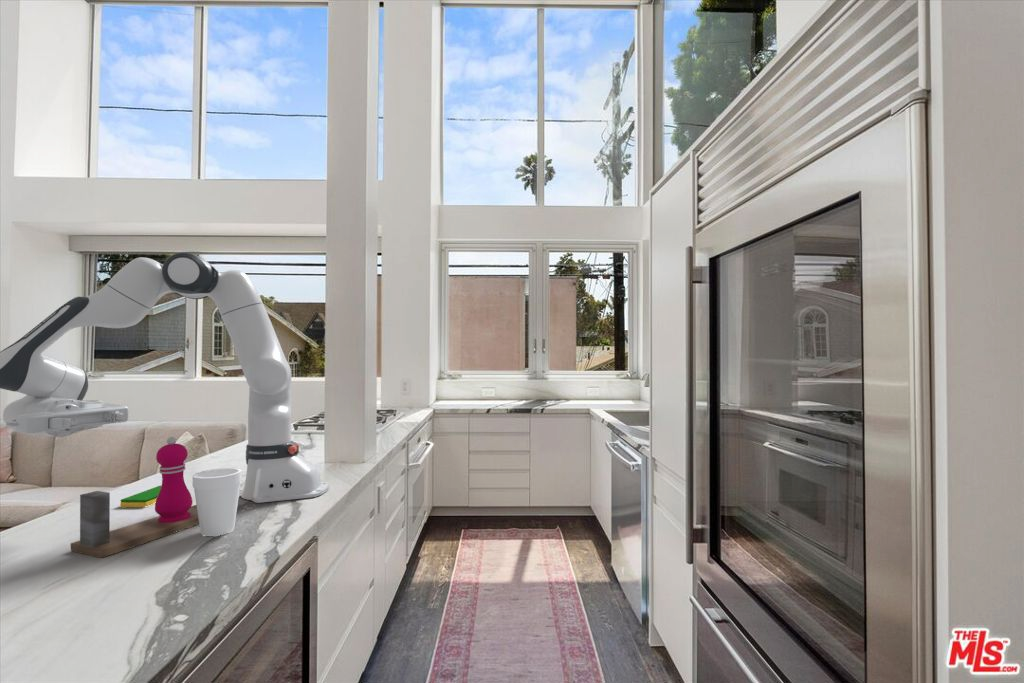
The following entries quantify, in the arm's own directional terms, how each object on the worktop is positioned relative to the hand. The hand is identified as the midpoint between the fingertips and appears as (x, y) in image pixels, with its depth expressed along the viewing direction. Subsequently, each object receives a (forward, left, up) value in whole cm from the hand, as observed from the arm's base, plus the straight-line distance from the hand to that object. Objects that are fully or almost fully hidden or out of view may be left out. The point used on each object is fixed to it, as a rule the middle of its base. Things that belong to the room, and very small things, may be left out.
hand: (97, 420), depth 113 cm
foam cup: (-27, +4, -25) cm, 37 cm away
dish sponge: (+1, -26, -26) cm, 36 cm away
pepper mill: (-15, -2, -25) cm, 29 cm away
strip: (-13, +1, -25) cm, 28 cm away
